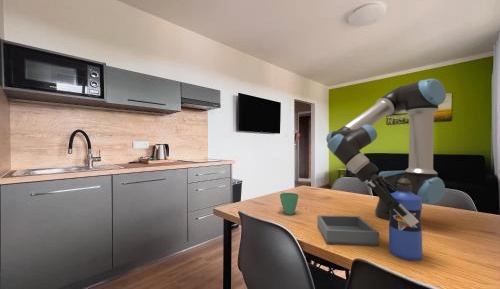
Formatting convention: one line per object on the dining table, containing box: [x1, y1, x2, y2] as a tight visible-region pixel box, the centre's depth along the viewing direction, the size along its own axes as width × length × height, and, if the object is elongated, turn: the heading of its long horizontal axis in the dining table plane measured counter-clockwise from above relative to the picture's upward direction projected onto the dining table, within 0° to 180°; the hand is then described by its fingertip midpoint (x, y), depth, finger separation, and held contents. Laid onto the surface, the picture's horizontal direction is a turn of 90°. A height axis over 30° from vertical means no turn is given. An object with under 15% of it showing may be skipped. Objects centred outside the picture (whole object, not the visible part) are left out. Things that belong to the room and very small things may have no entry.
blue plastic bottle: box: [388, 178, 423, 262], centre depth 73 cm, size 9×9×25 cm
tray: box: [316, 214, 380, 247], centre depth 89 cm, size 18×18×5 cm
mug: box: [279, 191, 299, 216], centre depth 121 cm, size 15×10×10 cm
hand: (416, 219), depth 71 cm, fingers closed on blue plastic bottle, 9 cm apart
